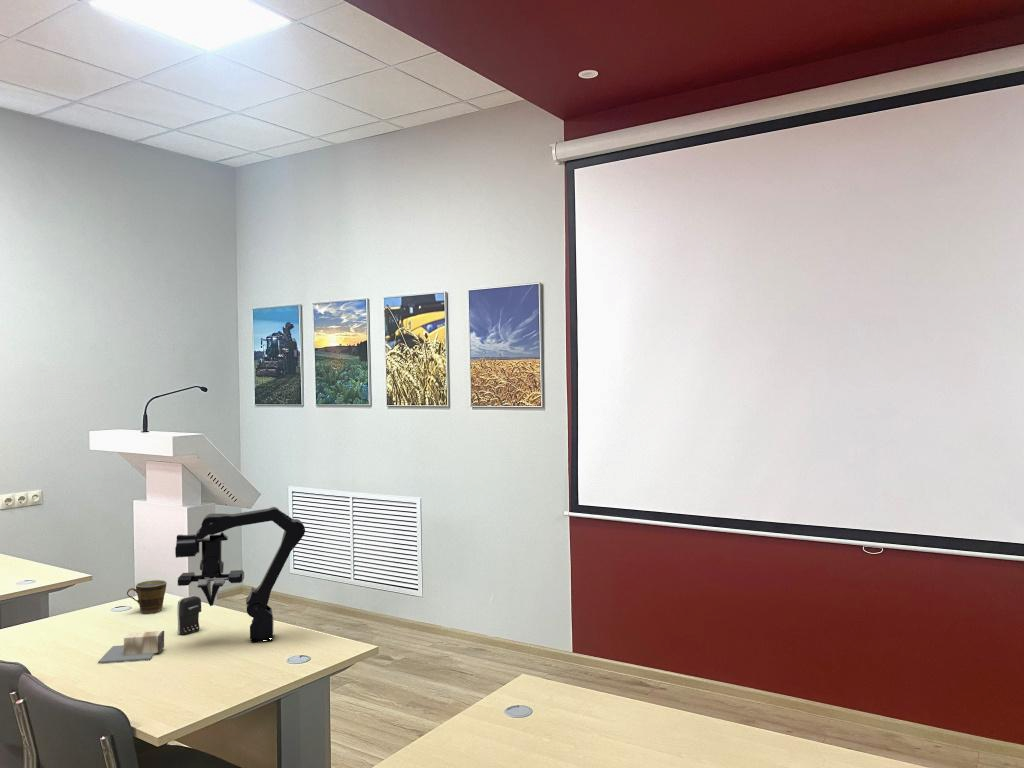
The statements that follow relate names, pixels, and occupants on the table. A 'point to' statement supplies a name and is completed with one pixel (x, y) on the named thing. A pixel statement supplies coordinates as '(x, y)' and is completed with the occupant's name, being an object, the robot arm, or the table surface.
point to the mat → (122, 655)
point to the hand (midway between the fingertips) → (211, 605)
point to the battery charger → (188, 614)
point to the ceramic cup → (150, 596)
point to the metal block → (143, 642)
